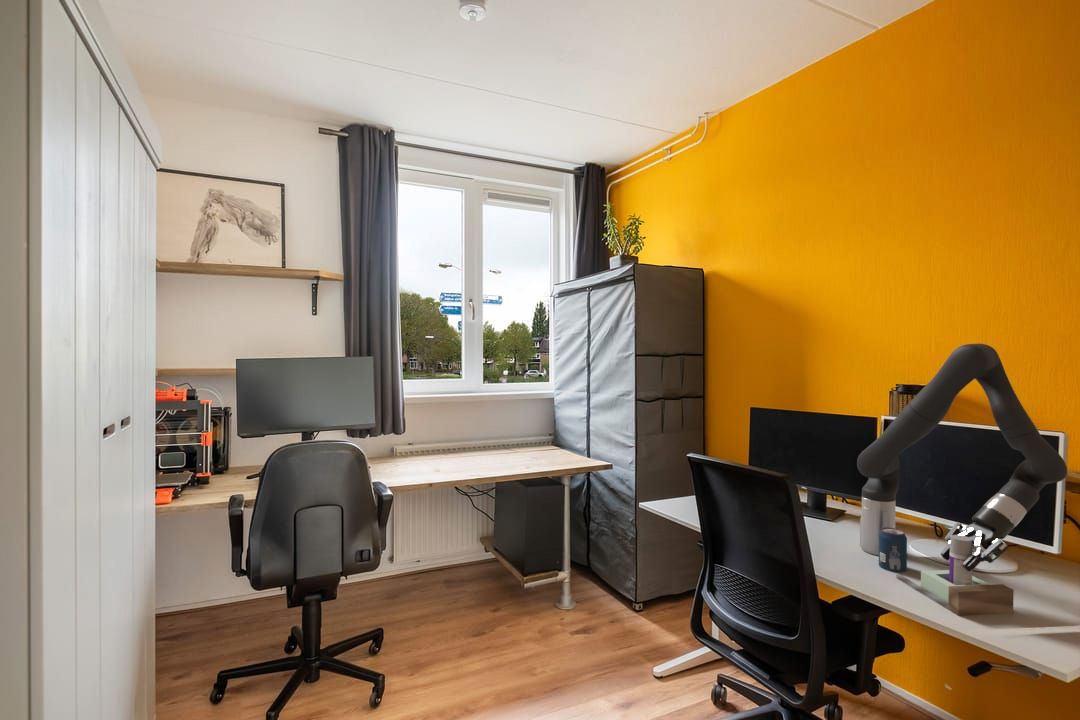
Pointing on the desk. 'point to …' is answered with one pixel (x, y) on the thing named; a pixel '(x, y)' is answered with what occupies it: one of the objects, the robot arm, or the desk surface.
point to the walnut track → (972, 598)
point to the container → (959, 560)
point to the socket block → (941, 583)
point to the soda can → (893, 550)
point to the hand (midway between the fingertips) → (954, 562)
